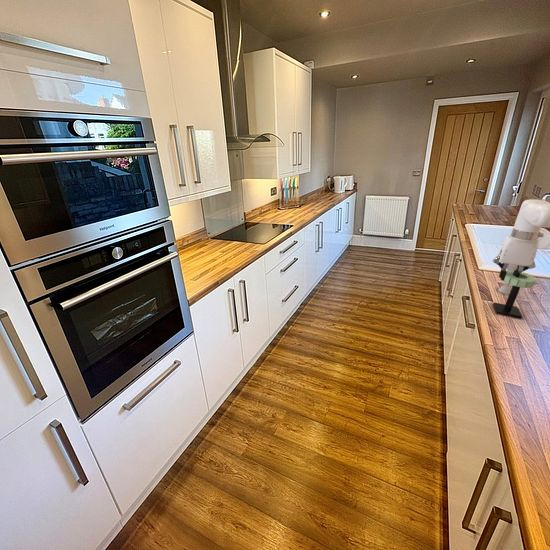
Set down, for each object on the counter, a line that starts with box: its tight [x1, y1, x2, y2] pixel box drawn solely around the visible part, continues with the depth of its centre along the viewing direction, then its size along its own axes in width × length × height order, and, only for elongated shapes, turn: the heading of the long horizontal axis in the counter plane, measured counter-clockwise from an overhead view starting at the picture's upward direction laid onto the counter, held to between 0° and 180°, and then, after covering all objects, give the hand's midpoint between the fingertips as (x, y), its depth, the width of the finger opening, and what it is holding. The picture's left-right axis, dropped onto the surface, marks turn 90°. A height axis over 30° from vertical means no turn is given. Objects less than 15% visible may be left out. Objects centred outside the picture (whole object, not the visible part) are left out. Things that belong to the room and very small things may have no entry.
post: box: [492, 285, 523, 319], centre depth 115 cm, size 8×8×13 cm
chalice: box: [497, 264, 517, 295], centre depth 129 cm, size 7×7×18 cm
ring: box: [503, 270, 538, 289], centre depth 111 cm, size 10×10×3 cm
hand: (507, 279), depth 113 cm, fingers closed on ring, 3 cm apart
